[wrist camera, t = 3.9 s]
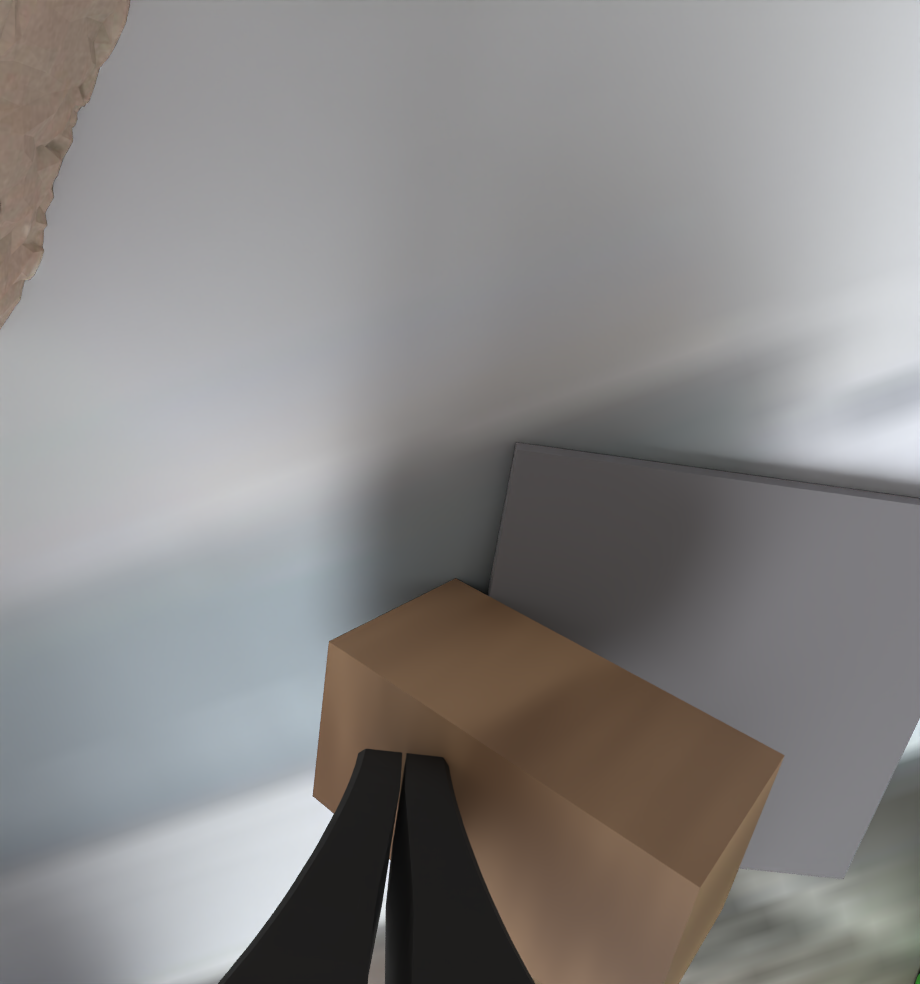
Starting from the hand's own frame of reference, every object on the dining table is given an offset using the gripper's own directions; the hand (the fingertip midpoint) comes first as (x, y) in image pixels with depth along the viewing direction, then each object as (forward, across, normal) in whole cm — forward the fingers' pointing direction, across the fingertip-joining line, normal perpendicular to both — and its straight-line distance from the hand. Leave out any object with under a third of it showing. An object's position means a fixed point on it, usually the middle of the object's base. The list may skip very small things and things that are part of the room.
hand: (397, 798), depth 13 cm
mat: (+4, -6, 0) cm, 8 cm away
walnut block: (+3, 0, 0) cm, 3 cm away
